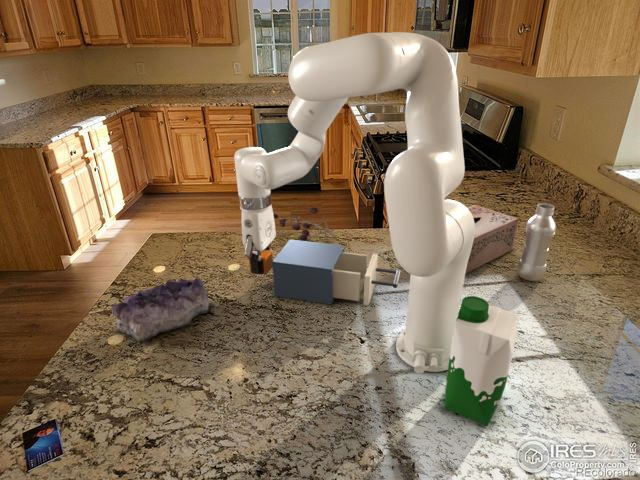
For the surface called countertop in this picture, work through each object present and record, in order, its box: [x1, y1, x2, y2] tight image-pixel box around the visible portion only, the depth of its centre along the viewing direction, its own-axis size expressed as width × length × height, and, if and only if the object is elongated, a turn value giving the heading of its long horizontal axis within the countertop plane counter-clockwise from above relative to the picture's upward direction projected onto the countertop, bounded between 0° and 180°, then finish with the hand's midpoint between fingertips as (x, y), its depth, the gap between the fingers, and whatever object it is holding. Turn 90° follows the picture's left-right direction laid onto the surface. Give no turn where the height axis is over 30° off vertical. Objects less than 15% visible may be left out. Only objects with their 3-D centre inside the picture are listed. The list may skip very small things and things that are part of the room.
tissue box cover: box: [465, 204, 519, 275], centre depth 121 cm, size 26×14×10 cm, turn 127°
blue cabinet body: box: [272, 239, 345, 306], centre depth 106 cm, size 15×13×10 cm
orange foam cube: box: [248, 249, 274, 275], centre depth 107 cm, size 4×4×4 cm
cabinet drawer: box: [333, 251, 402, 306], centre depth 103 cm, size 20×11×8 cm, turn 74°
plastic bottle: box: [516, 203, 557, 282], centre depth 106 cm, size 6×7×20 cm
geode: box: [111, 277, 211, 343], centre depth 94 cm, size 20×12×10 cm, turn 130°
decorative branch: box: [273, 206, 338, 243], centre depth 136 cm, size 11×9×30 cm
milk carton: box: [444, 295, 519, 427], centre depth 69 cm, size 9×9×20 cm
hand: (261, 267), depth 108 cm, fingers closed on orange foam cube, 4 cm apart
